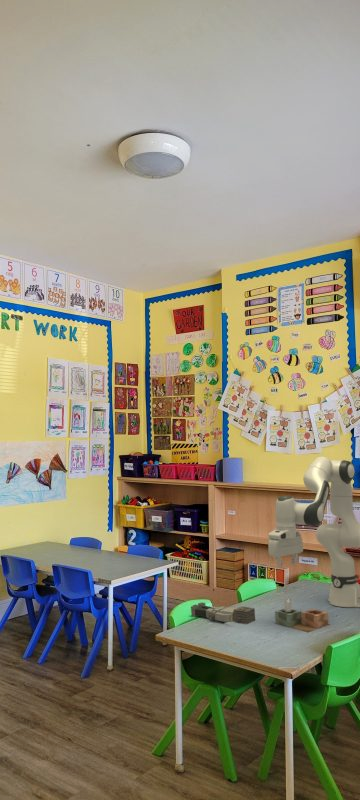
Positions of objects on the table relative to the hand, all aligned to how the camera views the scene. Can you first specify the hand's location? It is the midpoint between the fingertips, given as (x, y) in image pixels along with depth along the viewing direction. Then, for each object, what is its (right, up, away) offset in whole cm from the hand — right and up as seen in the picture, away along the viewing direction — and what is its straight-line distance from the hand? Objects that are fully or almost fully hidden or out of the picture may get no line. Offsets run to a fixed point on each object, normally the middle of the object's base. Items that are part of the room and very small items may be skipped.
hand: (286, 565), depth 251 cm
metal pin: (0, -25, -3) cm, 25 cm away
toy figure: (-27, -28, +9) cm, 40 cm away
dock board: (+6, -26, -4) cm, 27 cm away
